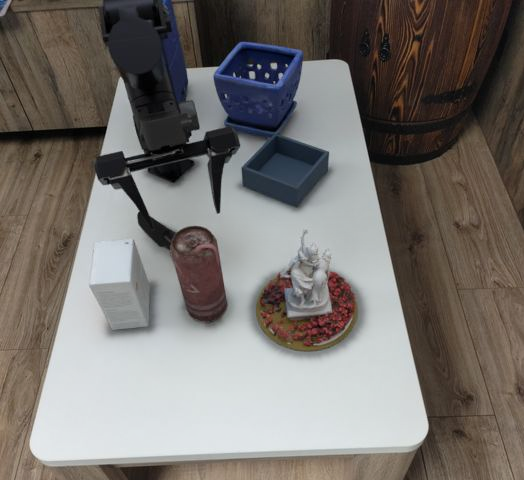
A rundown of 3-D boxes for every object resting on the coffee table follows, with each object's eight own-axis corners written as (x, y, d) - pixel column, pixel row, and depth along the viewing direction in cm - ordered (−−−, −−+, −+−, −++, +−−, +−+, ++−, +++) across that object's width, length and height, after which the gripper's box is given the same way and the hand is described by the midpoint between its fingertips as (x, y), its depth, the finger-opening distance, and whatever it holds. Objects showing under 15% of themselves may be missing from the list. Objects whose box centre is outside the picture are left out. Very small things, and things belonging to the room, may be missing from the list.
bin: (242, 186, 89) (241, 167, 86) (275, 151, 94) (275, 132, 91) (296, 207, 86) (297, 188, 83) (327, 170, 91) (329, 151, 87)
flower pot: (217, 135, 98) (209, 74, 88) (244, 98, 104) (240, 37, 94) (280, 149, 95) (279, 87, 85) (304, 110, 101) (306, 49, 91)
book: (183, 125, 100) (158, 15, 83) (157, 126, 100) (127, 17, 83) (191, 85, 108) (170, -23, 91) (167, 86, 108) (142, -21, 91)
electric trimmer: (152, 218, 86) (148, 204, 84) (211, 263, 80) (209, 249, 77) (135, 230, 85) (130, 216, 82) (194, 277, 78) (190, 263, 76)
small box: (115, 289, 78) (93, 240, 69) (151, 285, 78) (133, 236, 69) (111, 331, 73) (87, 285, 65) (149, 327, 73) (130, 281, 65)
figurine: (253, 274, 78) (246, 203, 66) (348, 266, 78) (359, 194, 66) (259, 355, 70) (254, 290, 58) (366, 346, 70) (382, 280, 58)
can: (223, 326, 73) (211, 260, 61) (182, 320, 74) (162, 254, 62) (233, 294, 76) (223, 226, 64) (193, 289, 77) (176, 220, 65)
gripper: (67, 96, 55) (111, 236, 59) (229, 62, 58) (262, 198, 61) (83, 122, 66) (120, 239, 70) (219, 92, 68) (248, 207, 72)
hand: (185, 221), depth 68 cm, fingers open, 9 cm apart
